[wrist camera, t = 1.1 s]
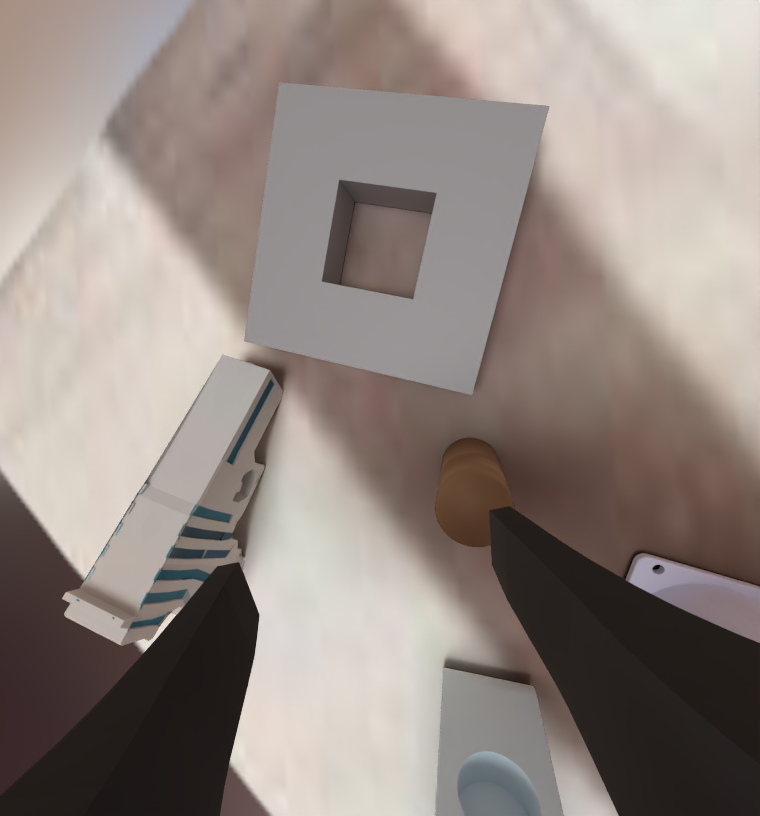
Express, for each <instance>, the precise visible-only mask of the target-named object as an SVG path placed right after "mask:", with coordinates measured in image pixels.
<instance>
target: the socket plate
mask: <svg viewBox="0 0 760 816" xmlns="http://www.w3.org/2000/svg"><path fill="white" fill-rule="evenodd" d="M548 110H549V106H543V105H531V104H520V103H508V102H497V101H485V100H474V99H463V98H451V97H440V96H428V95H417V94H405V93H394V92H383V91H371V90H360V89H348V88H337V87H325V86H314V85H302V84H291V83H280V82H279V89H278V96H277V103H276V111H275V118H274V125H273V133H272V140H271V148H270V155H269V162H268V170H267V177H266V184H265V192H264V199H263V206H262V214H261V221H260V229H259V236H258V243H257V251H256V258H255V265H254V273H253V280H252V287H251V295H250V302H249V309H248V317H247V324H246V332H245V339H244V341H245V342H250V343H254V344H258V345H262V346H267V347H271V348H275V349H279V350H283V351H288V352H292V353H296V354H300V355H305V356H309V357H313V358H317V359H321V360H326V361H330V362H334V363H338V364H343V365H347V366H351V367H355V368H360V369H364V370H368V371H372V372H376V373H381V374H385V375H389V376H393V377H398V378H402V379H406V380H410V381H415V382H419V383H423V384H427V385H431V386H436V387H440V388H444V389H448V390H453V391H457V392H461V393H465V394H469V395H472V394H473V390H474V386H475V383H476V379H477V375H478V371H479V368H480V364H481V360H482V357H483V353H484V349H485V345H486V342H487V338H488V334H489V330H490V327H491V323H492V319H493V315H494V312H495V308H496V304H497V300H498V297H499V293H500V289H501V285H502V282H503V278H504V274H505V270H506V267H507V263H508V259H509V255H510V252H511V248H512V244H513V241H514V237H515V233H516V229H517V226H518V222H519V218H520V214H521V211H522V207H523V203H524V199H525V196H526V192H527V188H528V184H529V181H530V177H531V173H532V169H533V166H534V162H535V158H536V154H537V151H538V147H539V143H540V139H541V136H542V132H543V128H544V125H545V121H546V117H547V113H548ZM355 202H359V203H366V204H372V205H379V206H386V207H393V208H399V209H406V210H413V211H420V212H426V213H432V217H431V221H430V226H429V230H428V235H427V239H426V244H425V248H424V253H423V257H422V262H421V266H420V271H419V275H418V280H417V284H416V289H415V293H414V298H413V299H409V298H404V297H398V296H393V295H388V294H383V293H378V292H373V291H368V290H362V289H357V288H352V287H347V286H342V285H340V280H341V274H342V269H343V263H344V258H345V252H346V247H347V241H348V236H349V230H350V225H351V219H352V214H353V208H354V203H355Z"/></svg>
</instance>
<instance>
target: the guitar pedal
mask: <svg viewBox="0 0 760 816" xmlns="http://www.w3.org/2000/svg"><path fill="white" fill-rule="evenodd" d="M435 816H564V815H563V810H562V806H561V801H560V797H559V792H558V788H557V783H556V779H555V775H554V770H553V766H552V761H551V757H550V752H549V748H548V743H547V739H546V734H545V730H544V725H543V721H542V717H541V712H540V708H539V703H538V699H537V695H536V691H535V689H534V687H533V686H531V685H526V684H521V683H517V682H512V681H507V680H502V679H497V678H493V677H488V676H483V675H478V674H473V673H468V672H464V671H459V670H454V669H449V668H444V667H443V685H442V702H441V720H440V737H439V754H438V772H437V789H436V807H435Z"/></svg>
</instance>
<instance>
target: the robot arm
mask: <svg viewBox="0 0 760 816" xmlns="http://www.w3.org/2000/svg"><path fill="white" fill-rule="evenodd" d="M489 517H490V535H491V553H492V566H493V568H494V570H495V573H496V575H497V577H498V580H499V582H500V584H501V587H502V589H503V591H504V593H505V595H506V598H507V600H508V602H509V603H510V605H511V607H512V609H513V610H514V612H515V614H516V616H517V617H518V619H519V621H520V623H521V624H522V626H523V628H524V630H525V631H526V633H527V635H528V637H529V638H530V640H531V642H532V644H533V645H534V647H535V649H536V650H537V652H538V654H539V656H540V657H541V659H542V661H543V663H544V664H545V666H546V668H547V669H548V671H549V673H550V675H551V676H552V678H553V680H554V682H555V683H556V685H557V687H558V689H559V691H560V693H561V695H562V696H563V698H564V700H565V702H566V704H567V706H568V708H569V710H570V712H571V714H572V716H573V718H574V721H575V723H576V725H577V727H578V729H579V731H580V733H581V735H582V737H583V739H584V741H585V744H586V746H587V748H588V750H589V752H590V754H591V756H592V758H593V761H594V763H595V765H596V767H597V769H598V771H599V774H600V776H601V778H602V780H603V782H604V784H605V787H606V789H607V791H608V793H609V795H610V797H611V800H612V802H613V804H614V806H615V808H616V811H617V813H618V815H619V816H760V586H757V585H753V584H750V583H746V582H743V581H739V580H736V579H733V578H729V577H726V576H722V575H719V574H715V573H712V572H709V571H705V570H702V569H698V568H695V567H691V566H688V565H684V564H681V563H678V562H674V561H671V560H667V559H664V558H660V557H657V556H653V555H650V554H645V553H642V554H638V555H637V556H635V558H634V559H633V562H632V564H631V567H630V569H629V572H628V574H627V577H626V579H625V580H624V579H622V578H621V577H619V576H617V575H615V574H614V573H612V572H610V571H608V570H607V569H605V568H603V567H602V566H600V565H598V564H596V563H595V562H593V561H591V560H590V559H588V558H587V557H585V556H583V555H582V554H580V553H578V552H577V551H575V550H574V549H572V548H571V547H569V546H568V545H566V544H564V543H563V542H561V541H560V540H558V539H557V538H555V537H554V536H552V535H551V534H549V533H548V532H546V531H545V530H544V529H542V528H541V527H539V526H538V525H536V524H535V523H533V522H532V521H531V520H529V519H528V518H526V517H525V516H523V515H522V514H520V513H519V512H518V511H516V510H515V509H513V508H512V507H510V506H507V507H502V508H498V509H493V510H489ZM655 565H660V567H659V569H657V570H652V569H653V567H654V566H655ZM258 623H259V613H258V610H257V607H256V605H255V602H254V600H253V597H252V594H251V592H250V589H249V587H248V584H247V581H246V579H245V576H244V574H243V571H242V568H241V566H240V563H239V562H236V563H231V564H227V565H222V566H217V567H216V568H215V569H214V571H213V572H212V573H211V574H210V575H209V576H208V578H207V579H206V580H205V581H204V582H203V584H202V585H201V586H200V587H199V588H198V590H197V591H196V592H195V593H194V595H193V596H192V597H191V598H190V599H189V601H188V602H187V603H186V604H185V606H184V607H183V608H182V609H181V610H180V612H179V613H178V614H177V615H176V616H175V617H174V619H173V620H172V621H171V622H170V623H169V625H168V626H167V627H166V628H165V629H164V631H163V632H162V633H161V634H160V635H159V637H158V638H157V639H156V640H155V641H154V642H153V643H152V645H151V646H150V647H149V648H148V649H147V650H146V651H145V652H144V653H143V655H142V656H141V657H140V658H139V659H138V660H137V661H136V662H135V663H134V665H133V666H132V667H131V668H130V669H129V670H128V671H127V672H126V674H125V675H124V676H123V677H122V678H121V679H120V680H119V681H118V683H116V685H115V686H114V687H113V688H112V689H111V690H110V691H109V692H108V693H107V694H106V695H105V696H104V697H103V698H102V699H101V700H100V701H99V702H98V703H97V704H96V705H95V706H94V707H93V709H91V711H90V712H89V713H88V714H86V715H85V717H83V719H81V721H79V722H78V723H77V724H76V725H75V726H74V728H73V729H72V730H70V731H69V732H68V733H67V734H66V735H65V736H64V737H63V738H62V739H61V740H60V741H59V742H58V743H57V744H56V745H55V746H54V747H53V748H52V749H51V750H50V751H48V752H47V753H46V754H45V755H44V756H43V757H42V758H41V759H40V760H39V761H38V762H37V763H35V764H34V766H32V767H31V768H30V769H29V770H28V771H27V772H26V773H25V774H23V775H22V777H20V778H19V779H18V780H17V781H16V782H15V783H14V784H13V785H12V786H10V787H9V788H8V789H7V790H6V791H5V792H4V793H3V794H2V795H1V796H0V816H220V811H221V804H222V798H223V791H224V786H225V781H226V776H227V771H228V766H229V761H230V757H231V753H232V749H233V745H234V740H235V736H236V732H237V728H238V724H239V720H240V715H241V711H242V707H243V703H244V699H245V695H246V690H247V686H248V682H249V677H250V673H251V669H252V664H253V660H254V656H255V648H256V641H257V632H258Z"/></svg>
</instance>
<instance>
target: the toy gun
mask: <svg viewBox="0 0 760 816" xmlns="http://www.w3.org/2000/svg"><path fill="white" fill-rule="evenodd" d="M282 394H283V390H282V389H281V387H280V386H279V384H278V382H277V380H276V379H275V377H274V375H273V374H272V372H271V371H270V370H268V369H265V368H262V367H259V366H258V365H256V364H254V363H252V362H249V361H245V362H244V361H241V360H238V359H235V358H232V357H228V356H225V355H222V357H221V358H220V360H219V362H218V363H217V365H216V367H215V368H214V370H213V372H212V373H211V375H210V377H209V378H208V380H207V381H206V383H205V385H204V386H203V388H202V390H201V391H200V393H199V395H198V396H197V398H196V400H195V401H194V403H193V404H192V406H191V408H190V409H189V411H188V413H187V414H186V416H185V418H184V419H183V421H182V423H181V424H180V426H179V428H178V429H177V431H176V432H175V434H174V436H173V437H172V439H171V441H170V442H169V444H168V446H167V447H166V449H165V450H164V452H163V454H162V455H161V457H160V459H159V460H158V462H157V464H156V465H155V467H154V468H153V470H152V472H151V473H150V475H149V477H148V478H147V480H146V482H145V483H144V485H143V486H142V487H141V489H140V490H139V492H138V493H137V495H136V497H135V498H134V500H133V501H132V503H131V505H130V506H129V508H128V510H127V511H126V513H125V515H124V516H123V518H122V520H121V521H120V523H119V524H118V526H117V528H116V529H115V531H114V533H113V534H112V536H111V538H110V539H109V541H108V543H107V544H106V546H105V547H104V549H103V551H102V552H101V554H100V556H99V557H98V559H97V561H96V562H95V564H94V566H93V567H92V569H91V570H90V572H89V574H88V575H87V577H86V579H85V580H84V582H83V584H82V585H81V587H80V589H77V590H73V591H68V592H66V593H65V595H64V597H63V598H62V599H64V600H66V601H68V602H70V605H69V607H68V608H67V610H66V612H65V617H67V618H69V619H71V620H73V621H75V622H77V623H79V624H80V625H82V626H85V627H86V628H88V629H90V630H92V631H94V632H96V633H98V634H100V635H102V636H104V637H106V638H108V639H110V640H112V641H114V642H116V643H118V644H120V645H125V644H128V643H132V642H135V641H138V640H141V639H146V640H148V641H149V640H151V639H152V638H153V637H154V635H155V634H156V632H157V630H158V628H159V627H160V625H161V624H162V623H163V621H164V620H165V619H166V617H167V616H168V615H169V614H170V613H173V614H176V615H177V614H178V613H179V612H180V610H181V609H182V608H183V607H184V606H185V604H186V603H187V602H188V601H189V599H190V598H191V597H192V596H193V595H194V593H195V592H196V591H197V590H198V588H199V587H200V586H201V585H202V584H203V582H204V581H205V580H206V579H207V578H208V576H209V575H210V574H211V573H212V572H213V571H214V569H215V568H216V567H217V566H222V565H227V564H231V563H236V562H239V563H240V566H241V568H242V569H243V564H244V560H243V556H241V554H242V549H240V548H238V547H237V546H238V540H235V539H233V538H231V536H232V533H233V531H234V528H235V526H236V523H237V521H238V520H239V519H240V518H241V516H242V515H243V513H244V511H245V509H246V507H247V505H248V503H249V500H250V498H251V496H252V494H253V492H254V490H255V488H256V486H257V483H258V481H259V479H260V477H261V475H262V473H263V471H264V469H265V465H263V464H260V463H257V462H255V456H254V451H255V449H256V447H257V445H258V443H259V441H260V439H261V437H262V435H263V433H264V431H265V430H266V428H267V426H268V424H269V422H270V420H271V418H272V416H273V414H274V412H275V410H276V408H277V406H278V405H279V403H280V401H281V398H282Z"/></svg>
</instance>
